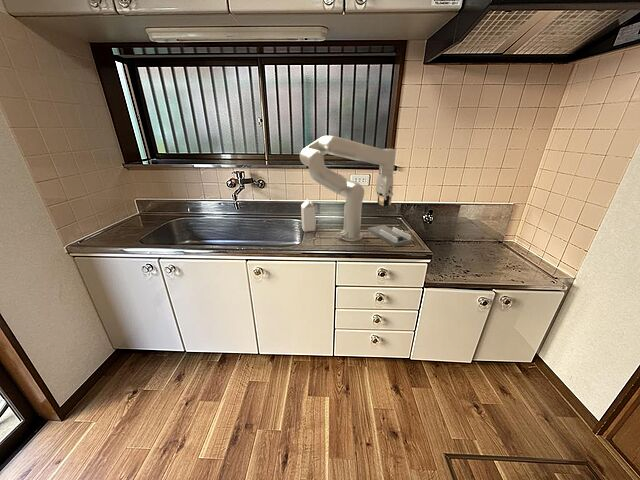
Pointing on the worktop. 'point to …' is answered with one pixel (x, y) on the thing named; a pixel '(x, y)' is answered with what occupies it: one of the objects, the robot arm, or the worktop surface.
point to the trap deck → (391, 235)
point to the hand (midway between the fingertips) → (382, 204)
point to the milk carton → (308, 216)
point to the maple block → (381, 199)
